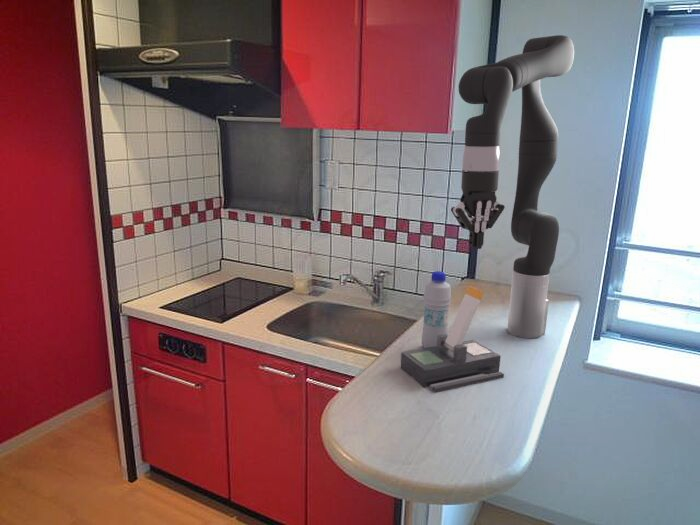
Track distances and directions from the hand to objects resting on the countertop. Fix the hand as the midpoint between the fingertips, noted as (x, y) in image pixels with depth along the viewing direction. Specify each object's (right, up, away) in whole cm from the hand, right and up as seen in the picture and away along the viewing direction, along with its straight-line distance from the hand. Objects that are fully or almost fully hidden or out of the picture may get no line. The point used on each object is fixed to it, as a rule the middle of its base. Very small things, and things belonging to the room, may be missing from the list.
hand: (475, 248), depth 115 cm
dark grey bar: (-2, -29, -1) cm, 29 cm away
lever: (-5, -22, +4) cm, 23 cm away
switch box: (-5, -28, +5) cm, 28 cm away
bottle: (-6, -25, +17) cm, 31 cm away
